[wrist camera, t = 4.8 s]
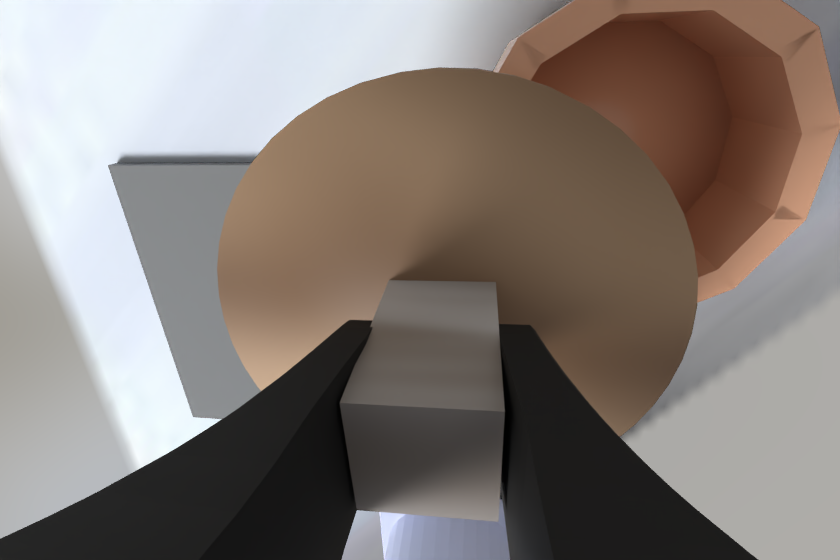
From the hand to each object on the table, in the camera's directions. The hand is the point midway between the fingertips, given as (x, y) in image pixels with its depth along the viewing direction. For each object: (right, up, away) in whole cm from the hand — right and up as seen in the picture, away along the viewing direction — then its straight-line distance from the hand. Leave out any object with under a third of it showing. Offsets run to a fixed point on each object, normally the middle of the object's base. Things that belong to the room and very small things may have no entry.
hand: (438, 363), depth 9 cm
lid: (0, +1, +2) cm, 2 cm away
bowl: (+6, +6, +6) cm, 11 cm away
